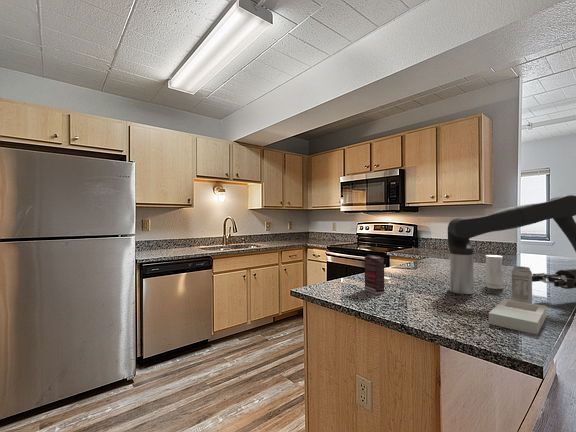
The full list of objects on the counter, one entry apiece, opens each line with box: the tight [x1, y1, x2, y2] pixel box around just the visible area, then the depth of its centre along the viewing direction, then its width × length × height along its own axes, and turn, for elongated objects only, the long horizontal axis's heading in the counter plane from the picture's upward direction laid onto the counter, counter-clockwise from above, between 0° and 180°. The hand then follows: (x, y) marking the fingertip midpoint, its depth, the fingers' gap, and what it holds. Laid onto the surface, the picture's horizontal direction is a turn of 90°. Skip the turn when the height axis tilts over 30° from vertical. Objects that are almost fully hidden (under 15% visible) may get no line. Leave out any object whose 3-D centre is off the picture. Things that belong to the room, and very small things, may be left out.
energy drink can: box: [511, 265, 533, 304], centre depth 111 cm, size 6×6×15 cm
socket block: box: [488, 298, 548, 336], centre depth 98 cm, size 12×22×4 cm, turn 133°
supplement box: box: [364, 255, 385, 295], centre depth 134 cm, size 9×5×16 cm, turn 22°
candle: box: [484, 254, 504, 290], centre depth 140 cm, size 7×7×15 cm
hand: (542, 281), depth 114 cm, fingers open, 8 cm apart
